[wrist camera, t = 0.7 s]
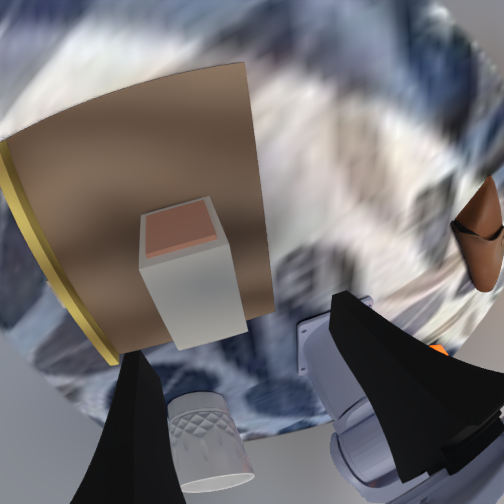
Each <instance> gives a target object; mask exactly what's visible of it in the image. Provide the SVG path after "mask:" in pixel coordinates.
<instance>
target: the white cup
mask: <svg viewBox="0 0 504 504" xmlns="http://www.w3.org/2000/svg"><path fill="white" fill-rule="evenodd" d="M168 418H169V434H170V445H171V452H172V458H173V463H174V467H175V470H176V474H177V477H178V480H179V484H180V487H181V490H182V492H191V493H193V492H194V493H197V492H209V491H216V490H222V489H226V488H230V487H234V486H237V485H240V484H243V483H246V482H248V481H250V480H251V479H253V478H254V477H255V474H254V472H253V469H252V467H251V464H250V462H249V459H248V456H247V454H246V451H245V449H244V446H243V443H242V441H241V438H240V435H239V433H238V431H237V429H236V426H235V423H234V421H233V419H232V417H231V415H230V412H229V409H228V406H227V403H226V400H225V399H224V398H223V397H222V395H220V394H216V393H213V392H194V393H188V394H184V395H182V396H179V397H177V398H175V399H173V400H172V401H171V402H170V403H169V404H168Z"/></svg>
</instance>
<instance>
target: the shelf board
mask: <svg viewBox="0 0 504 504" xmlns="http://www.w3.org/2000/svg"><path fill="white" fill-rule="evenodd" d="M0 186H1V189H2V191H3V194H4V196H5V198H6V201H7V203H8V205H9V207H10V209H11V212H12V214H13V216H14V218H15V220H16V222H17V224H18V226H19V228H20V230H21V232H22V234H23V236H24V238H25V240H26V242H27V244H28V246H29V247H30V249H31V251H32V253H33V255H34V256H35V258H36V260H37V262H38V263H39V265H40V267H41V269H42V270H43V272H44V274H45V275H46V277H47V280H46V282H47V284H48V286H49V287H50V289H51V290H52V292H53V293H54V295H55V296H56V298H57V299H58V301H59V302H60V304H61V305H62V307H63V308H67V309H68V311H69V312H70V314H71V315H72V317H73V318H74V319H75V321H76V322H77V324H78V325H79V326H80V328H81V329H82V330H83V332H84V333H85V334H86V336H87V337H88V338H89V340H90V341H91V342H92V344H93V345H94V346H95V347H96V349H97V350H98V351H99V352H100V354H101V355H102V356H103V357H104V359H105V360H106V361H107V362H108V363H109V365H110V366H112V365H116V364H119V354H122V353H126V352H130V351H135V350H139V349H143V348H147V347H151V346H155V345H159V344H163V343H167V342H171V341H173V339H172V337H171V335H170V333H169V331H168V329H167V327H166V325H165V323H164V322H163V320H162V318H161V316H160V314H159V312H158V309H157V307H156V305H155V303H154V301H153V299H152V297H151V295H150V293H149V291H148V289H147V287H146V284H145V282H144V280H143V278H142V276H141V273H140V271H139V244H140V223H141V215H143V214H146V213H150V212H153V211H156V210H160V209H163V208H167V207H170V206H174V205H177V204H181V203H185V202H188V201H192V200H196V199H199V198H203V197H207V196H210V199H211V201H212V203H213V206H214V208H215V211H216V213H217V216H218V218H219V221H220V223H221V225H222V228H223V230H224V233H225V235H226V238H227V240H228V242H229V246H230V250H231V255H232V260H233V265H234V270H235V274H236V279H237V284H238V288H239V293H240V298H241V302H242V307H243V311H244V316H245V320H249V319H253V318H256V317H259V316H262V315H266V314H269V313H272V312H275V306H274V297H273V287H272V278H271V269H270V260H269V251H268V243H267V234H266V225H265V217H264V209H263V200H262V192H261V184H260V176H259V168H258V160H257V152H256V144H255V136H254V129H253V121H252V113H251V106H250V98H249V91H248V84H247V77H246V69H245V62H241V63H234V64H227V65H221V66H215V67H209V68H204V69H198V70H193V71H189V72H184V73H179V74H175V75H171V76H167V77H163V78H159V79H155V80H151V81H148V82H144V83H140V84H137V85H134V86H130V87H127V88H124V89H121V90H118V91H115V92H112V93H109V94H106V95H103V96H100V97H97V98H94V99H92V100H89V101H86V102H84V103H81V104H79V105H76V106H74V107H71V108H69V109H66V110H64V111H62V112H59V113H57V114H55V115H53V116H50V117H48V118H46V119H44V120H42V121H40V122H38V123H36V124H34V125H32V126H30V127H28V128H26V129H24V130H22V131H20V132H18V133H16V134H14V135H12V136H10V137H9V138H7V139H5V140H3V141H2V142H0Z"/></svg>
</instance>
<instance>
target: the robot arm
mask: <svg viewBox="0 0 504 504" xmlns="http://www.w3.org/2000/svg"><path fill="white" fill-rule="evenodd" d="M372 305H373V299H372V298H371V297H368V298H365V299H363V300H359V299H358V298H356V297H355V296H354V295H352V294H351V293H350V292H348V291H347V290H346V291H343V292H340V293H337V294H334V295H332V302H331V311H330V312H329V313H326V314H323V315H320V316H318V317H315V318H312V319H309V320H306V321H303V322H301V323H300V324H299V325H298V327H297V337H298V374H299V375H300V376H303V375H305V374H308V375H309V377H310V379H311V381H312V383H313V385H314V387H315V389H316V391H317V393H318V395H319V397H320V399H321V401H322V403H323V405H324V407H325V409H326V411H327V413H328V414H329V416H330V417H331V418H332V419H334V420H335V421H336V422H335V423H333V427H334V428H335V431H336V432H334V433H333V434H332V436H331V442H330V453H331V456H332V459H333V462H334V464H335V466H336V468H337V470H338V471H339V473H340V474H341V476H342V477H343V478H344V479H345V480H346V481H347V482H348V483H350V484H352V485H353V486H354V487H355V488H356V490H357V491H358V492H359V493H360V494H361V496H362V497H364V498H365V499H366V501H368V502H373V503H386V504H496V503H497V502H498V501H499V499H500V498H501V497H502V496H503V494H504V416H503V417H502V418H499V416H500V415H501V414H502V412H501V411H500V409H501V408H502V407H503V406H504V373H500V372H495V371H492V370H487V369H484V368H481V367H477V366H474V365H471V364H468V363H466V362H463V361H461V360H458V359H456V358H453V357H451V356H448V355H446V354H444V353H442V352H440V351H438V350H436V349H434V348H432V347H430V346H428V345H426V344H424V343H423V342H421V341H419V340H417V339H416V338H414V337H412V336H411V335H409V334H408V333H406V332H404V331H403V330H401V329H400V328H398V327H397V326H395V325H394V324H392V323H391V322H389V321H388V320H387V319H385V318H384V317H382V316H381V315H379V314H378V313H377V312H375V311H374V310H373V309H372ZM70 504H186V502H185V499H184V496H183V493H182V490H181V487H180V484H179V480H178V477H177V474H176V470H175V467H174V463H173V458H172V452H171V445H170V438H169V430H168V422H167V414H166V405H165V400H164V395H163V390H162V386H161V381H160V378H159V377H158V375H157V374H156V372H155V371H154V369H153V368H152V367H151V365H150V364H149V362H148V361H147V359H146V358H145V356H144V355H143V353H142V352H141V350H138V351H134V352H129V353H125V355H124V357H123V361H122V365H121V369H120V373H119V377H118V381H117V384H116V388H115V392H114V395H113V399H112V402H111V406H110V410H109V413H108V416H107V419H106V422H105V425H104V428H103V432H102V435H101V437H100V440H99V443H98V446H97V448H96V451H95V453H94V456H93V458H92V461H91V463H90V465H89V467H88V470H87V472H86V474H85V477H84V478H83V480H82V482H81V484H80V486H79V488H78V490H77V492H76V494H75V495H74V497H73V499H72V501H71V502H70Z"/></svg>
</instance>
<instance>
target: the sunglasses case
mask: <svg viewBox="0 0 504 504" xmlns="http://www.w3.org/2000/svg"><path fill="white" fill-rule="evenodd" d="M452 226H453V231H454V233H455V235H456V238H457V240H458V242H459V244H460V246H461V249H462V252H463V254H464V257H465V259H466V262H467V265H468V268H469V271H470V274H471V277H472V281H473V284H474V286H475V288H476V289H477V290H479V291H480V292H490V291H491V290H492V289H493V288H494V286H495V284H496V282H497V279H498V277H499V273H500V270H501V265H502V260H503V252H504V226H503V224H502V216H501V209H500V203H499V198H498V194H497V190H496V186H495V183H494V180H493V178H492V176H491V175H489V176H487V178H486V180H485V182H484V183H483V184H482V186H481V187H480V188H479V189H478V191H477V192H476V193H475V195H474V196H473V197H472V198H471V200H470V201H469V202H468V203H467V205H466V206H465V207H464V208H463V209H462V211H461V212H460V213H459V214H458V216H457V217H456V218H455V220H454V221H453V220H452Z"/></svg>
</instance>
